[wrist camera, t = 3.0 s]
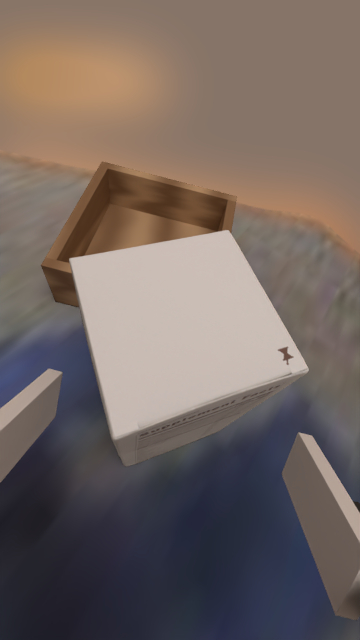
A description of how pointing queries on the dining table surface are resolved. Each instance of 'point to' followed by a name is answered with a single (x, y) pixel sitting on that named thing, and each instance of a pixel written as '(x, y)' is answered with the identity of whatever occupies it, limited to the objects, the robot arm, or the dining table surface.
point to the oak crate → (131, 219)
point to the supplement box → (179, 340)
